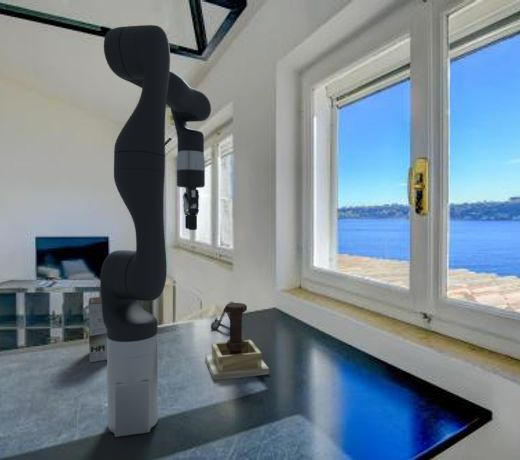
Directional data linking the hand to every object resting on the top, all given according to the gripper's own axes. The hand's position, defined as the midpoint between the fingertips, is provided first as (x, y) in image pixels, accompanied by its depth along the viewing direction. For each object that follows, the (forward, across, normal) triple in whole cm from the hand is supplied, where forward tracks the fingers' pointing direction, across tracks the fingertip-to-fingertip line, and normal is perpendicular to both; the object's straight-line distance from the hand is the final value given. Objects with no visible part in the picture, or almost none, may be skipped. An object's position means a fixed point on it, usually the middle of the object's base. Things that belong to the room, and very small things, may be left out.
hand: (190, 229), depth 107 cm
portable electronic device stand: (+36, +29, -15) cm, 49 cm away
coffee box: (+36, +10, +24) cm, 45 cm away
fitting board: (+36, -8, -11) cm, 39 cm away
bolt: (+35, -8, -11) cm, 37 cm away
